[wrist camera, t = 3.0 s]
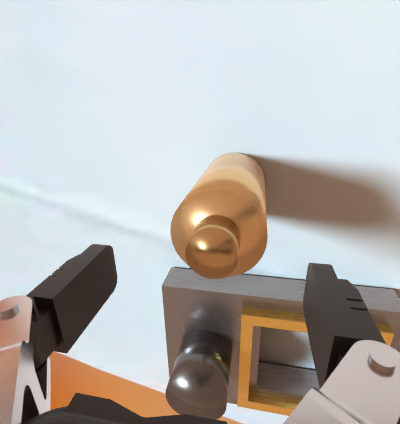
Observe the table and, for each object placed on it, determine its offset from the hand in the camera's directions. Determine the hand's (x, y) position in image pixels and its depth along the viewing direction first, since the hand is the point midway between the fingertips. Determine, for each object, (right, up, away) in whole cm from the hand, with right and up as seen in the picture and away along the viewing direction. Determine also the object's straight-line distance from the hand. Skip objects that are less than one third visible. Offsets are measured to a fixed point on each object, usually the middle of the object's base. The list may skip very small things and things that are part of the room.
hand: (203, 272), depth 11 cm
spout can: (+3, +5, +12) cm, 13 cm away
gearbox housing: (+7, -10, +17) cm, 21 cm away
